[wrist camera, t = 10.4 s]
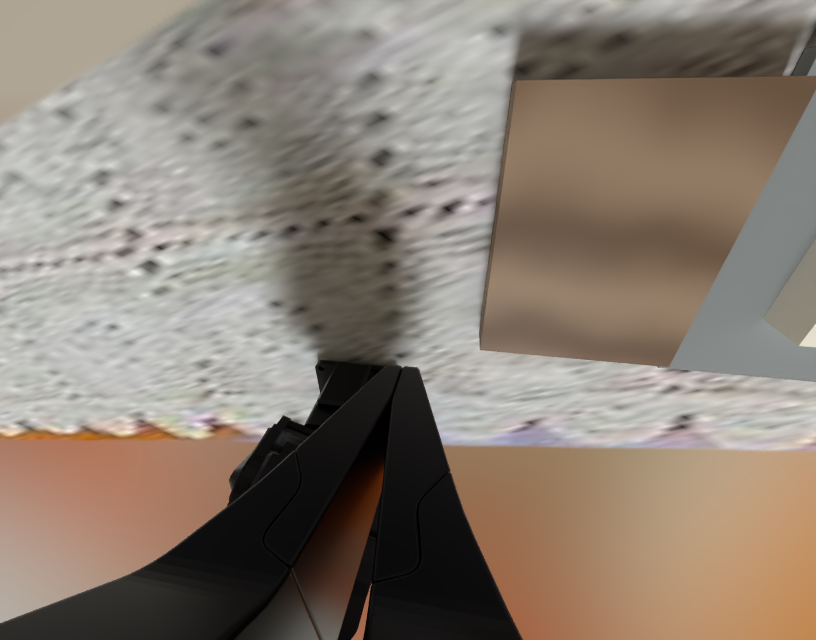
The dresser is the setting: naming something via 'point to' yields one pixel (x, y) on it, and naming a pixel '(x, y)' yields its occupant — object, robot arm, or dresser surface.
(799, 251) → the mat
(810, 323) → the tile
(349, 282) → the dresser surface
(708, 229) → the board
